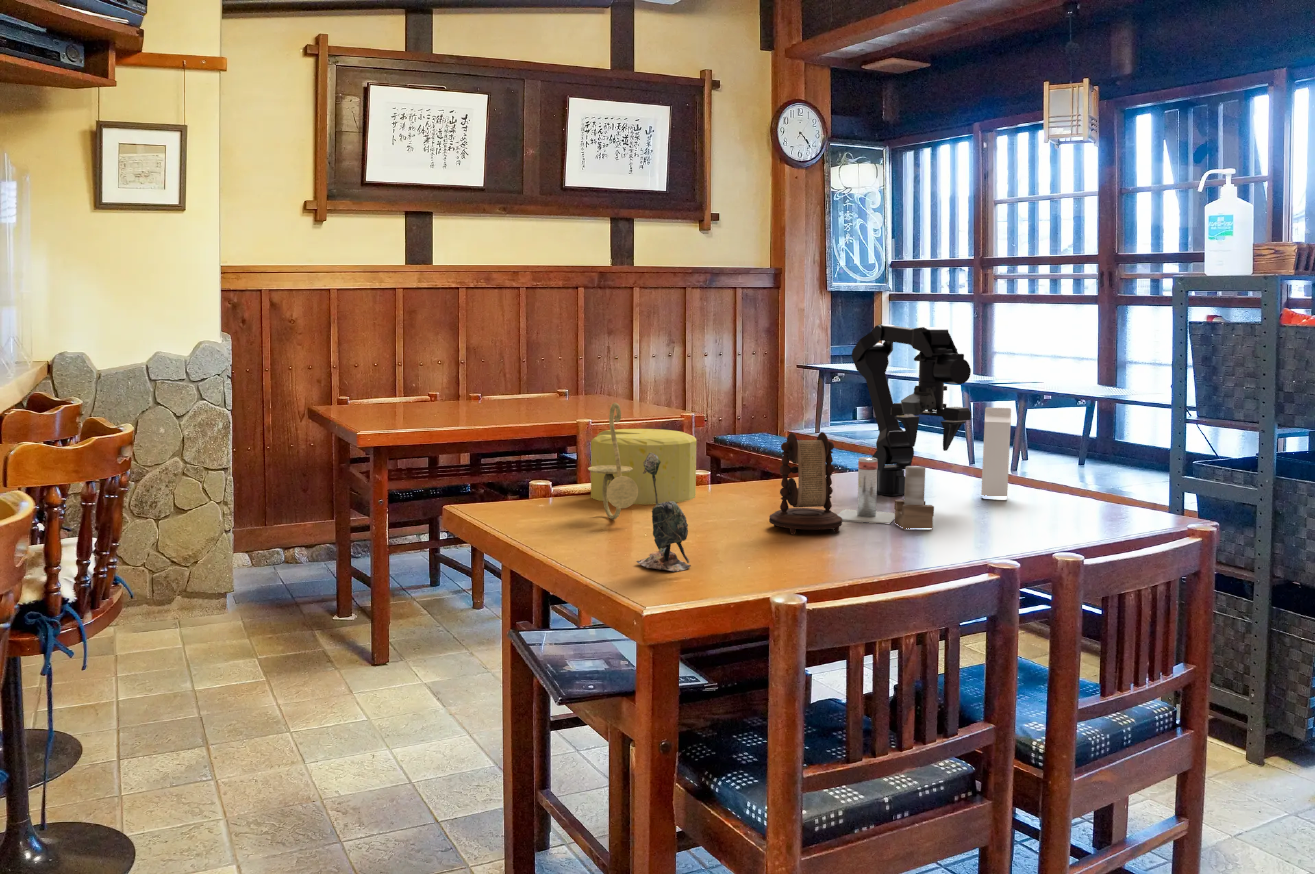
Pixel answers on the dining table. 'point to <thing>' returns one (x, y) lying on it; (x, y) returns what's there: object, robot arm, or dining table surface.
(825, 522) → the beaded wooden stand
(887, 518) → the grey mat
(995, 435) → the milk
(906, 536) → the dining table surface
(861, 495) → the silver cylinder copper band
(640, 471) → the cheese
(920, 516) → the white candle wooden holder
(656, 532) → the stone figurine
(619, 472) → the wall sconce
